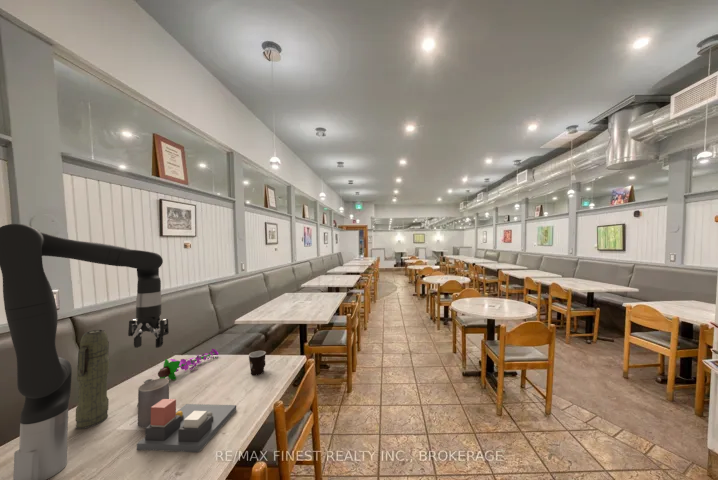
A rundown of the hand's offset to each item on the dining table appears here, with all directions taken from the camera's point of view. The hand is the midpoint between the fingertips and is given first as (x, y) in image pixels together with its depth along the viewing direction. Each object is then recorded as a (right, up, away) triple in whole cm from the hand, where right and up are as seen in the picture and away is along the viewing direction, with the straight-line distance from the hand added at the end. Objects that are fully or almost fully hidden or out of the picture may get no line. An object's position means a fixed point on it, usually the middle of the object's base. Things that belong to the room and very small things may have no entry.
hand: (148, 347), depth 97 cm
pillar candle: (-1, -31, +4) cm, 31 cm away
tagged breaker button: (+11, -27, -7) cm, 30 cm away
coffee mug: (+26, -32, +40) cm, 57 cm away
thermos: (-25, -31, +3) cm, 40 cm away
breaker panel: (+18, -30, -2) cm, 35 cm away
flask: (-12, -31, +15) cm, 37 cm away
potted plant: (-16, -33, +48) cm, 61 cm away
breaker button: (+23, -25, -8) cm, 35 cm away
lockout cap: (+11, -23, -7) cm, 27 cm away
